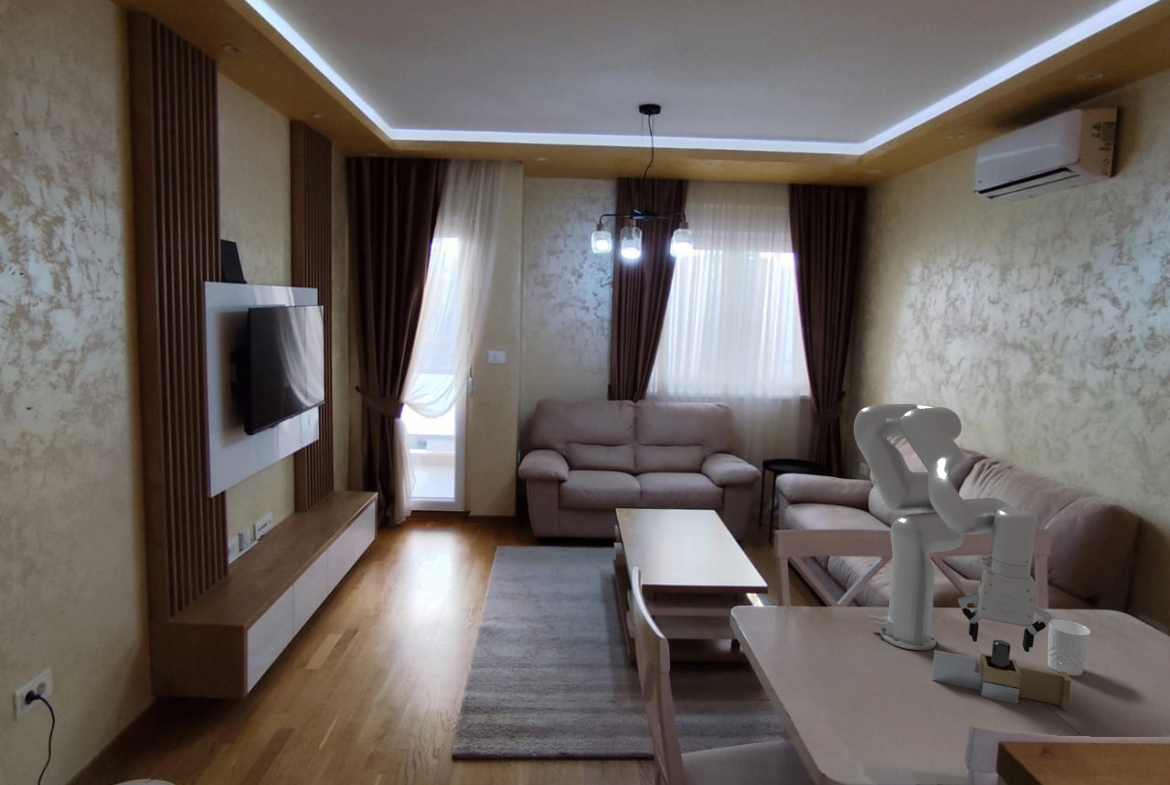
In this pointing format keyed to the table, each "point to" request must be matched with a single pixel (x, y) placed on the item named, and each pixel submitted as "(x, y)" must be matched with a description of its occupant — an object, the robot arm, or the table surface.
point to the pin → (1000, 654)
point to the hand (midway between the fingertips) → (999, 644)
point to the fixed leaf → (969, 676)
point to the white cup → (1067, 646)
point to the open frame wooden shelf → (1029, 681)
